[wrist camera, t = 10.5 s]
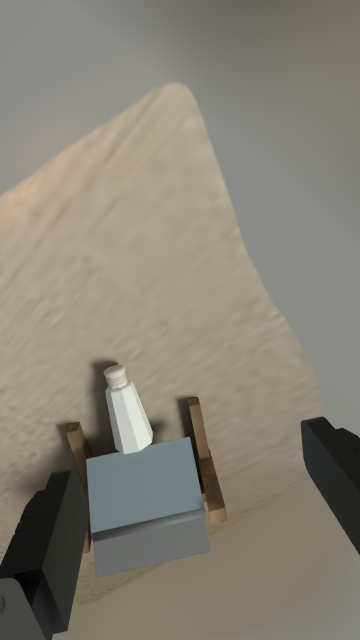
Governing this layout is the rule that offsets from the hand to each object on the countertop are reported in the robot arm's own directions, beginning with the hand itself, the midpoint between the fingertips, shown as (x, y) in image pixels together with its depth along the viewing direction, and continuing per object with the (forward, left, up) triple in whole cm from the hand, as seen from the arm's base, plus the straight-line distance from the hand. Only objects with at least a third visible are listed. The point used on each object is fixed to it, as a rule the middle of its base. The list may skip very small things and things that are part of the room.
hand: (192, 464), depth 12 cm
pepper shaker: (-8, -20, -31) cm, 37 cm away
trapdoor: (-7, -29, -29) cm, 42 cm away
